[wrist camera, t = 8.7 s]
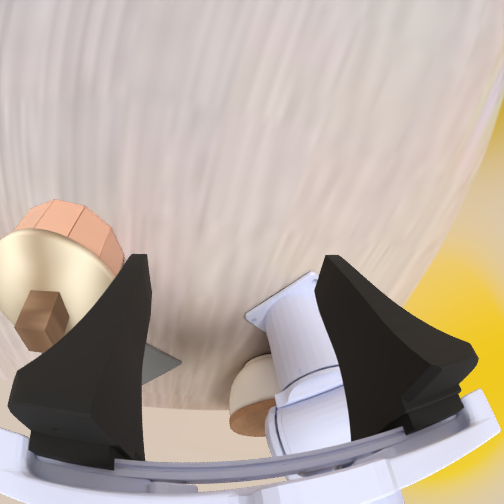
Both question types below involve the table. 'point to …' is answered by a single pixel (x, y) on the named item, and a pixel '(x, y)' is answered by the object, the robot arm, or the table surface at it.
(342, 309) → the robot arm
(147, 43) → the table surface
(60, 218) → the bowl
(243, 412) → the lidded jar
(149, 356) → the mat
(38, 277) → the lid
